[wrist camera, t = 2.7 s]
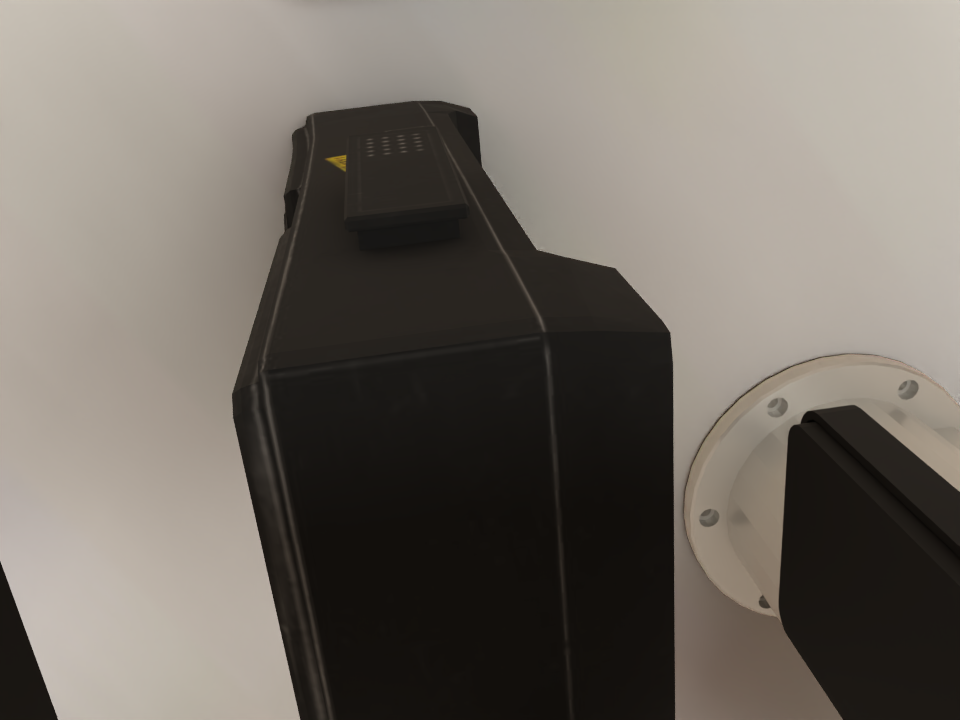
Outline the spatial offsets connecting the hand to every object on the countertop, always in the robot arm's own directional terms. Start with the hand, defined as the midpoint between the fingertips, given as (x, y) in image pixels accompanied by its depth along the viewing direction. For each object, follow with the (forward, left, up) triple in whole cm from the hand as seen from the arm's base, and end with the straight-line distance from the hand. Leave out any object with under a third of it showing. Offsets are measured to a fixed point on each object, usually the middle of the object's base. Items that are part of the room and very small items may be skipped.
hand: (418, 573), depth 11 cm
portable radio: (0, 0, -23) cm, 23 cm away
